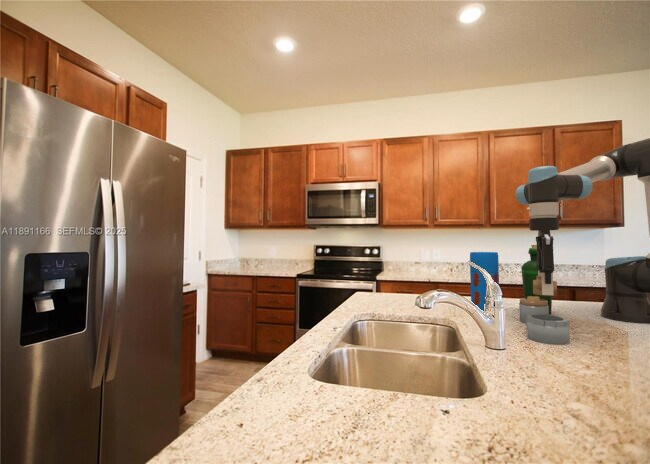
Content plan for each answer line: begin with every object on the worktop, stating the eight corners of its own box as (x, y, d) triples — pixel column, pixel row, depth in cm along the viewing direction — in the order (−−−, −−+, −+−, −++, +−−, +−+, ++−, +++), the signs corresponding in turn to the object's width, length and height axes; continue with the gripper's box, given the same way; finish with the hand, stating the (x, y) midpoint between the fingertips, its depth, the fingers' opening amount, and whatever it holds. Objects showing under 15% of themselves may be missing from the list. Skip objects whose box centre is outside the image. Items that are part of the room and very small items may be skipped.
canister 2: (565, 336, 99) (564, 315, 100) (573, 346, 90) (572, 323, 90) (525, 332, 104) (524, 312, 104) (529, 341, 95) (528, 319, 95)
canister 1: (540, 319, 121) (539, 294, 121) (554, 325, 112) (553, 299, 112) (515, 318, 122) (514, 294, 122) (527, 324, 113) (526, 298, 113)
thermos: (488, 315, 128) (486, 253, 128) (465, 310, 137) (464, 252, 138) (505, 312, 133) (503, 252, 133) (482, 307, 142) (480, 251, 143)
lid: (555, 293, 99) (554, 276, 99) (558, 296, 93) (558, 278, 94) (532, 292, 101) (531, 275, 102) (534, 294, 96) (534, 276, 96)
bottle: (553, 313, 130) (551, 244, 131) (555, 319, 121) (553, 245, 122) (522, 310, 136) (520, 244, 136) (522, 315, 127) (520, 245, 127)
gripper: (525, 219, 108) (527, 288, 107) (533, 216, 91) (535, 297, 91) (552, 218, 105) (554, 289, 104) (565, 214, 88) (568, 299, 87)
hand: (545, 293), depth 97 cm, fingers closed on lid, 6 cm apart
